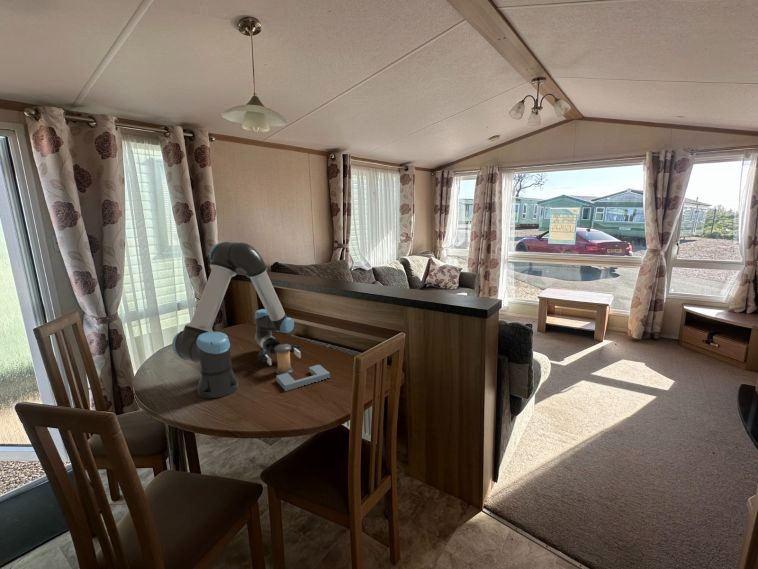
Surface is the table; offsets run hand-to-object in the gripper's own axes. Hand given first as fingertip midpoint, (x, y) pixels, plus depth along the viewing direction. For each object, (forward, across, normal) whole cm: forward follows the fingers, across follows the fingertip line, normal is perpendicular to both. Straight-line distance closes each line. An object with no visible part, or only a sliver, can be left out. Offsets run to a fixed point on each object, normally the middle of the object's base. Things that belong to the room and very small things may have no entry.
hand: (285, 358), depth 160 cm
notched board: (+11, -4, -7) cm, 13 cm away
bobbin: (-2, 0, -7) cm, 7 cm away
